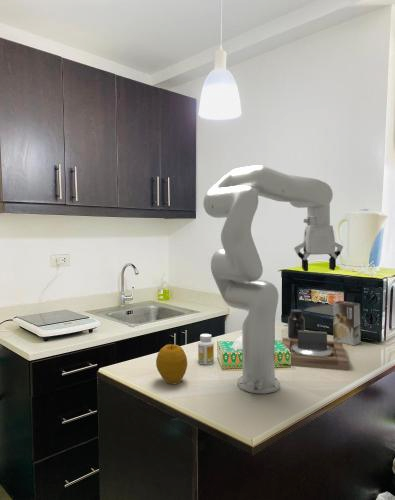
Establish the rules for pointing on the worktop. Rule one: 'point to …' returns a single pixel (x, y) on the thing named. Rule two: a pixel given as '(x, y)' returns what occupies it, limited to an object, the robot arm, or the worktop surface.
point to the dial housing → (333, 362)
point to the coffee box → (346, 322)
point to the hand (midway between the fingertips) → (318, 270)
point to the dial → (312, 344)
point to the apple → (171, 363)
